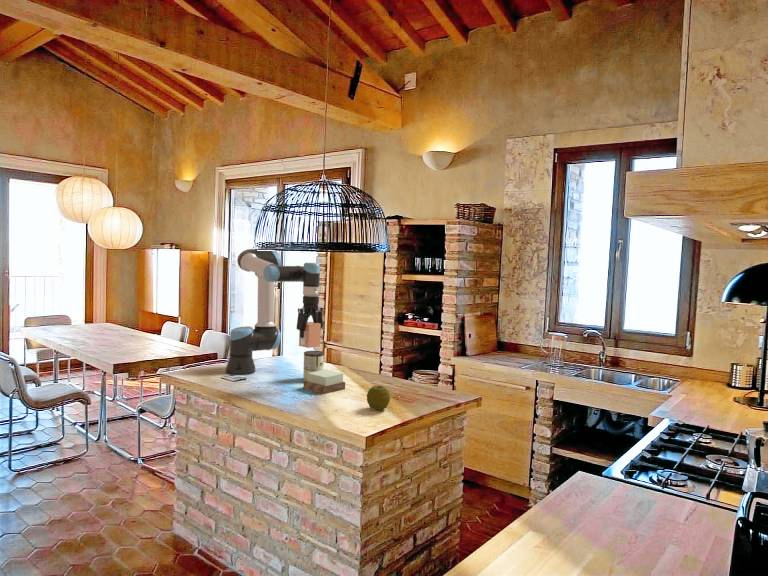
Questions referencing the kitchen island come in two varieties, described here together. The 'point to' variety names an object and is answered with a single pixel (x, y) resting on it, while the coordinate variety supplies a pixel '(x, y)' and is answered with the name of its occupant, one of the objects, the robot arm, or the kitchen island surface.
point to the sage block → (325, 377)
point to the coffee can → (313, 362)
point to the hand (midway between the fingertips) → (309, 343)
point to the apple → (378, 397)
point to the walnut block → (324, 387)
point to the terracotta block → (311, 335)
